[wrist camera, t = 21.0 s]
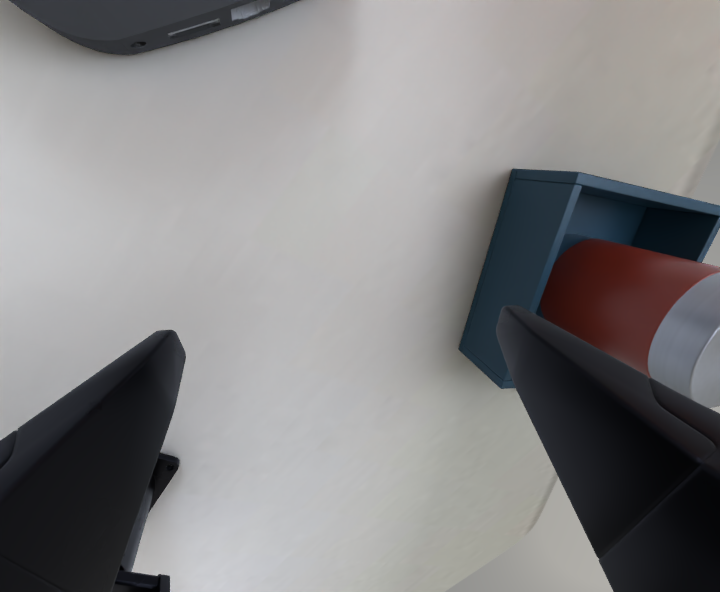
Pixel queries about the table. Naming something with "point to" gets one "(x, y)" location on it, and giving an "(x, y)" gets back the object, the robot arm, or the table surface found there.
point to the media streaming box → (142, 20)
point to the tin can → (640, 311)
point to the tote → (545, 234)
